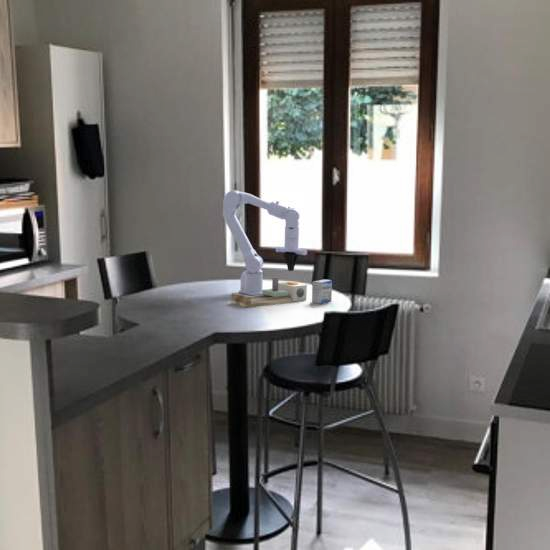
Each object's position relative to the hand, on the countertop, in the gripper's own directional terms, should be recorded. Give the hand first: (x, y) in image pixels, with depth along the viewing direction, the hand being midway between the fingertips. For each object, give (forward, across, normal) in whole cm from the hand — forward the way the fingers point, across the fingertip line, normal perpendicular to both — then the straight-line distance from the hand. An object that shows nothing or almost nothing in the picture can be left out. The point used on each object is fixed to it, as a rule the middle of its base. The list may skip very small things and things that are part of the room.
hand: (290, 270), depth 310 cm
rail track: (+10, +1, -20) cm, 23 cm away
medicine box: (+11, +18, -3) cm, 21 cm away
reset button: (+10, +5, -5) cm, 12 cm away
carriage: (+8, +3, -14) cm, 16 cm away
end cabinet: (+10, +5, -5) cm, 13 cm away
